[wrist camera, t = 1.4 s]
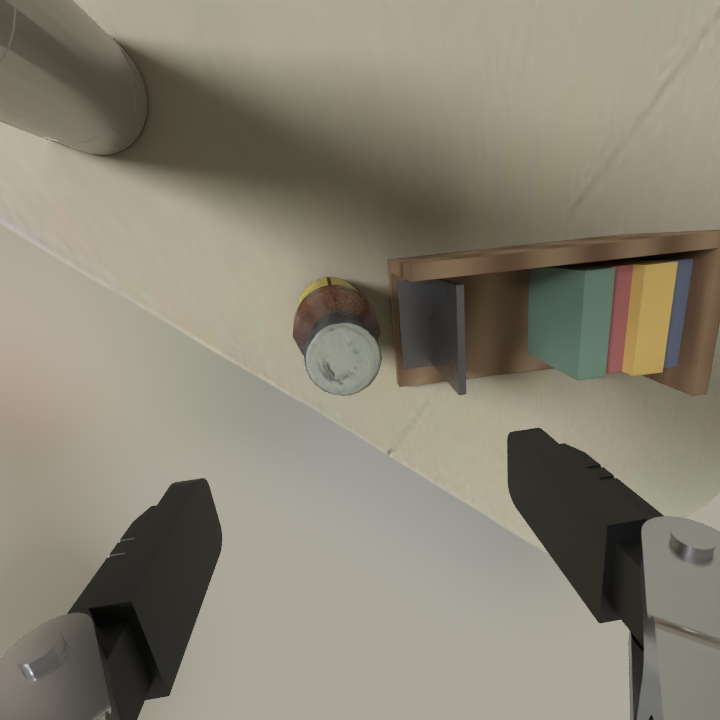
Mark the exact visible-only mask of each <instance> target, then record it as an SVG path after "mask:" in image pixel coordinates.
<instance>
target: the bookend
mask: <svg viewBox="0 0 720 720" xmlns="http://www.w3.org/2000/svg"><path fill="white" fill-rule="evenodd" d="M397 294H398V308H399V322H400V336H401V350H402V364H403V369H410V368H418V367H426V366H434V367H435V368H436V369H437V370H438V372H439V373H440V374H441V375H442V376H443V377H444V378H445V379H446V381H447V382H448V383H449V384H450V385H451V386H452V387H453V389H454V390H455V391H456V392H457V393H458V394H459V395H463V394H466V360H465V312H464V284H460V283H456V282H453V281H449V280H445V279H432V280H422V281H413V282H412V281H409V280H399V281H397Z"/></svg>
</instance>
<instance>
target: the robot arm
mask: <svg viewBox="0 0 720 720" xmlns="http://www.w3.org/2000/svg"><path fill="white" fill-rule="evenodd" d="M147 103H148V102H147V95H146V89H145V86H144V82H143V79H142V76H141V74H140V72H139V71H138V69H137V67H136V65H135V63H134V62H133V60H132V59H131V58H130V57H129V55H128V54H127V53H126V52H125V51H124V50H123V49H122V48H121V47H120V46H119V45H118V44H117V43H116V42H115V41H114V40H113V39H112V38H111V37H110V36H109V35H108V34H107V33H106V32H105V31H104V30H103V29H102V28H101V27H100V26H99V25H98V24H97V23H96V22H95V21H94V20H93V19H92V18H91V17H90V16H89V15H88V14H87V13H85V12H84V11H83V10H82V9H81V8H80V7H79V6H78V5H77V4H76V3H75V2H74V1H73V0H0V122H3V123H5V124H8V125H10V126H13V127H16V128H18V129H21V130H23V131H26V132H29V133H31V134H34V135H36V136H39V137H42V138H44V139H47V140H54V141H56V142H59V143H61V144H64V145H67V146H69V147H72V148H74V149H77V150H80V151H83V152H85V153H89V154H96V155H108V154H113V153H116V152H119V151H122V150H124V149H125V148H127V147H128V146H130V145H131V144H132V143H133V142H134V141H135V140H136V139H137V138H138V136H139V134H140V133H141V131H142V129H143V127H144V124H145V120H146V116H147ZM507 453H508V488H509V492H510V496H511V498H512V501H513V503H514V505H515V507H516V508H517V510H518V511H519V512H520V514H521V515H522V517H523V518H524V519H525V521H526V522H527V524H528V525H529V526H530V528H531V529H532V530H533V532H534V533H535V535H536V536H537V537H538V539H539V540H540V542H541V543H542V544H543V546H544V547H545V549H546V550H547V551H548V553H549V554H550V556H551V557H552V558H553V560H554V561H555V562H556V564H557V565H558V567H559V568H560V569H561V571H562V572H563V574H564V575H565V576H566V578H567V579H568V580H569V582H570V583H571V585H572V586H573V588H574V589H575V590H576V592H577V593H578V595H579V596H580V597H581V599H582V600H583V601H584V603H585V604H586V605H587V607H588V608H589V610H590V611H591V613H592V614H593V615H594V617H595V618H596V619H597V621H598V622H599V623H604V622H610V621H615V620H622V621H623V622H624V623H625V625H626V626H627V627H628V628H629V630H630V633H629V642H628V645H629V688H630V720H720V532H719V531H717V530H715V529H714V528H712V527H709V526H707V525H704V524H702V523H699V522H696V521H693V520H689V519H685V518H680V517H671V516H663V515H662V514H661V513H660V512H658V511H657V510H656V509H655V508H653V507H652V506H651V505H650V504H648V503H647V502H646V501H645V500H643V499H642V498H641V497H640V496H638V495H637V494H636V493H635V492H633V491H632V490H631V489H630V488H629V487H627V486H626V485H625V484H624V483H622V482H621V481H620V480H619V479H617V478H614V475H612V474H611V473H610V472H609V471H607V470H606V469H605V468H604V467H603V468H601V466H600V464H599V463H597V462H596V461H595V460H594V459H592V458H591V457H590V456H589V455H587V454H586V453H585V452H583V451H580V450H578V449H576V448H574V447H571V446H569V445H567V444H565V443H564V444H559V443H557V442H556V441H555V440H554V439H553V438H552V437H550V436H549V435H548V434H547V433H546V432H544V431H543V430H542V429H540V428H534V429H528V430H521V431H515V432H510V433H509V435H508V439H507ZM221 546H222V532H221V526H220V522H219V519H218V515H217V512H216V508H215V504H214V501H213V497H212V494H211V490H210V487H209V484H208V482H207V480H206V479H204V478H202V479H195V480H188V481H181V482H175V483H173V484H172V485H170V487H169V488H168V490H167V491H166V493H165V494H164V496H163V497H162V499H161V500H160V502H159V503H158V505H157V506H151V507H150V508H149V509H148V510H147V511H145V512H144V513H143V514H142V515H141V516H139V517H138V518H137V519H136V520H135V521H134V522H133V523H132V524H131V525H130V527H129V528H128V530H127V531H126V532H125V534H124V535H123V537H122V538H121V541H120V543H117V545H116V546H115V548H114V549H113V551H112V552H111V553H110V558H107V559H106V560H105V562H104V563H103V564H102V566H101V567H100V569H99V570H98V571H97V573H96V574H95V576H94V577H93V578H92V580H91V581H90V583H89V584H88V585H87V587H86V588H85V590H84V591H83V592H82V594H81V595H80V596H79V598H78V599H77V601H76V602H75V603H74V605H73V606H72V608H71V609H70V610H69V612H68V613H67V614H65V615H62V616H59V617H56V618H54V619H51V620H49V621H47V622H45V623H43V624H42V625H40V626H38V627H37V628H35V629H33V630H32V631H30V632H29V633H28V634H26V635H25V636H23V637H22V638H21V639H20V640H18V641H17V642H16V643H15V644H14V645H13V646H12V647H11V648H10V649H9V650H7V651H6V653H5V654H4V655H3V656H2V657H1V658H0V720H137V718H138V716H139V713H140V711H141V708H142V706H143V704H144V701H145V700H149V699H154V698H160V697H166V696H169V695H170V692H171V689H172V686H173V683H174V681H175V678H176V675H177V672H178V670H179V667H180V664H181V661H182V658H183V656H184V653H185V650H186V647H187V644H188V642H189V639H190V636H191V633H192V630H193V628H194V625H195V622H196V619H197V616H198V614H199V611H200V608H201V605H202V602H203V599H204V597H205V594H206V591H207V589H208V586H209V583H210V580H211V577H212V575H213V571H214V569H215V566H216V563H217V560H218V558H219V555H220V552H221Z"/></svg>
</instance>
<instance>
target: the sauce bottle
mask: <svg viewBox="0 0 720 720" xmlns="http://www.w3.org/2000/svg"><path fill="white" fill-rule="evenodd" d="M379 335H380V327H379V324H378V321H377V317H376V314H375V312H374V310H373V308H372V307H371V306H370V304H369V303H368V301H367V300H366V299H365V297H364V296H363V295H362V294H360V293H359V292H358V291H357V290H356V289H355V288H354V287H353V286H352V285H351V284H350V283H348V282H347V281H345V280H343V279H340V278H336V277H324V278H320V279H318V280H316V281H314V282H312V283H311V284H309V285H308V286H307V287H306V288H305V290H304V292H303V293H302V295H301V298H300V300H299V304H298V307H297V310H296V313H295V317H294V328H293V338H294V340H295V341H296V343H297V345H298V347H299V349H300V351H301V352H302V354H303V355H304V358H305V366H306V369H307V372H308V375H309V377H310V379H311V380H312V381H313V382H314V383H315V384H316V385H317V386H318V387H320V388H321V389H322V390H324V391H326V392H328V393H331V394H334V395H341V396H345V395H352V394H355V393H358V392H360V391H361V390H363V389H365V388H366V387H368V386H369V385H370V384H371V383H372V382H373V380H374V379H375V377H376V376H377V374H378V371H379V369H380V364H381V359H382V357H381V350H380V347H379V344H378V342H377V339H378V338H379Z"/></svg>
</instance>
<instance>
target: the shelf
mask: <svg viewBox="0 0 720 720" xmlns="http://www.w3.org/2000/svg"><path fill="white" fill-rule="evenodd" d="M631 257H656V258H693V264H692V271H691V278H690V284H689V291H688V298H687V304H686V311H685V318H684V324H683V331H682V337H681V344H680V351H679V357H678V364H677V367H670V368H663V372H661V373H653V374H645V375H642V376H645V377H647V378H650V379H652V380H655V381H657V382H660V383H662V384H664V385H667V386H669V387H672V388H674V389H677V390H679V391H682V392H684V393H687V394H689V395H692V396H697V395H705V394H707V389H708V384H709V378H710V373H711V367H712V361H713V356H714V350H715V345H716V339H717V333H718V328H719V322H720V230H707V231H687V232H666V233H645V234H625V235H613V236H604V237H594V238H585V239H576V240H566V241H557V242H548V243H539V244H529V245H520V246H511V247H501V248H492V249H483V250H474V251H464V252H455V253H446V254H436V255H427V256H418V257H408V258H399V259H390V260H388V271H389V284H390V297H391V310H392V323H393V336H394V349H395V362H396V375H397V383H398V385H399V387H402V386H410V385H419V384H427V383H435V382H443V381H446V379H445V378H444V377H443V376H442V375H441V374H440V373H439V372H438V370H437V369H436V368H435V367H434V366H426V367H418V368H410V369H403V364H402V350H401V336H400V322H399V308H398V294H397V281H399V280H409V281H412V282H413V281H422V280H432V279H445V280H449V281H453V282H456V283H460V284H464V312H465V360H466V379H468V378H476V377H484V376H492V375H501V374H509V373H517V372H525V371H533V370H542V369H550V368H554V367H552V366H550V365H548V364H546V363H544V362H542V361H540V360H539V359H537V358H535V357H533V356H531V355H529V354H527V345H528V310H529V276H530V269H531V268H540V267H549V266H558V265H567V264H576V263H586V262H595V261H604V260H613V259H622V258H631Z"/></svg>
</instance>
